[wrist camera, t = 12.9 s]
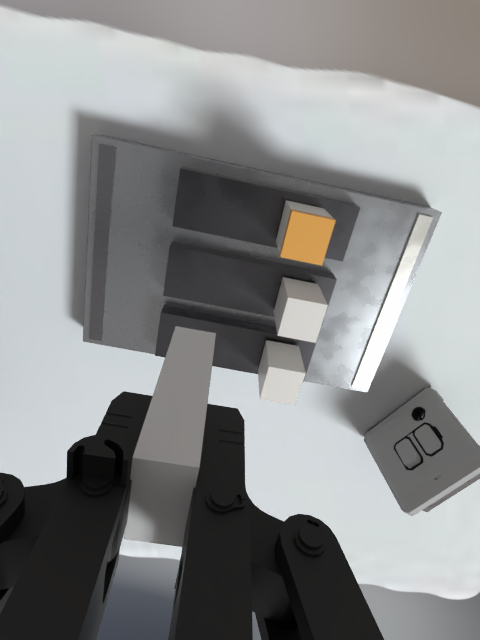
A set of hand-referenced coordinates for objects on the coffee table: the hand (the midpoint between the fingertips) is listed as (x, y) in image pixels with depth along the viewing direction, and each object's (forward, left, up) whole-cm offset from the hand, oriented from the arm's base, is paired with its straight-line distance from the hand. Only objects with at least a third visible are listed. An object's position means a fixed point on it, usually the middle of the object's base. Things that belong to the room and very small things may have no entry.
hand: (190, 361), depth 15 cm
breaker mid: (+7, -4, -19) cm, 20 cm away
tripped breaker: (+6, +2, -19) cm, 20 cm away
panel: (+3, -4, -22) cm, 23 cm away
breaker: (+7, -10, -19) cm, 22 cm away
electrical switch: (+24, -17, -23) cm, 37 cm away
